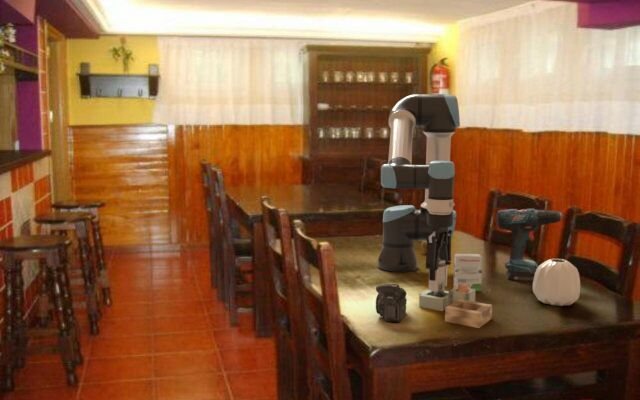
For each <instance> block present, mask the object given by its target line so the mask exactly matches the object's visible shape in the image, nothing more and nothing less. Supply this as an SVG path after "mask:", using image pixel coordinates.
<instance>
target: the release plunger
mask: <svg viewBox="0 0 640 400" xmlns="http://www.w3.org/2000/svg"><path fill="white" fill-rule="evenodd" d="M458 291H460V292H466V293H467V292H468V285H464V284H460V285H458Z"/></svg>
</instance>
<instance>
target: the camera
mask: <svg viewBox="0 0 640 400" xmlns="http://www.w3.org/2000/svg"><path fill="white" fill-rule="evenodd" d="M375 290H376V292H377V293H378V294H377V296H376V299H375V311H376V314H377V315H380V317H382V318H383V321H385V322H392V323H400V322H401V320H402V319H403V318H404V317H405V315H406V313H407V301H408V299H407V298H406V297H407V290H405V289H404V288H403V287H400V285H399V283H386V284H385V283H384V284H380V285H377V286H376V287H375Z"/></svg>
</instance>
